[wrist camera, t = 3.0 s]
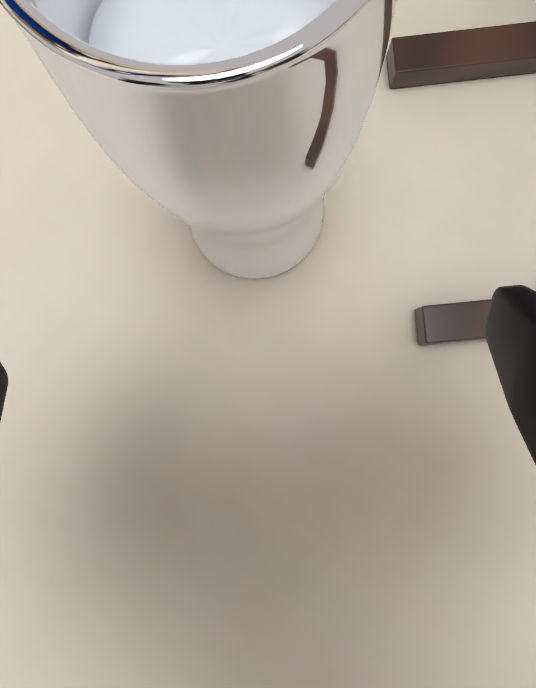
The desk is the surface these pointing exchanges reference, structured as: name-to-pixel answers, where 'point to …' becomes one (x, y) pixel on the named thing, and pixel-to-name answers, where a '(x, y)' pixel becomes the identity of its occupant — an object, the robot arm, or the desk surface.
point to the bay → (448, 66)
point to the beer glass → (220, 107)
